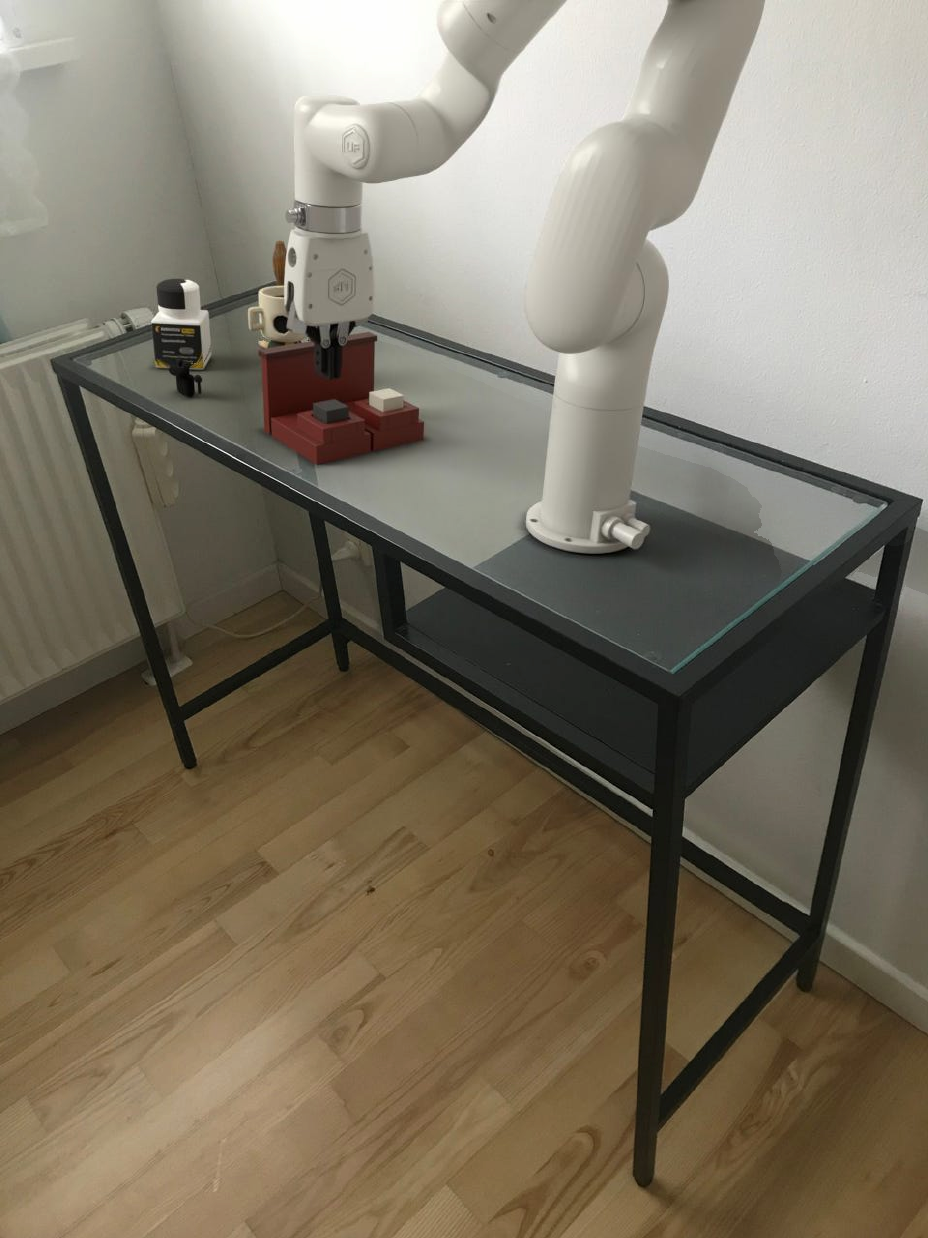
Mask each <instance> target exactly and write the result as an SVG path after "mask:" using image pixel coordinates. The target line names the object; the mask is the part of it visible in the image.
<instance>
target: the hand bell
mask: <svg viewBox="0 0 928 1238" xmlns="http://www.w3.org/2000/svg"><path fill="white" fill-rule="evenodd" d="M286 255H287V247H286V244H285V241H283V240H277V241H275V245H274V250H273V253H272V270H273V275H274V277H275V281H276V286H284V279H285V264H286ZM268 343H269V342H266V341H264V340H263V341H259V340H258V345H259V347H261V348H262V349H266V348H267V346H268Z"/></svg>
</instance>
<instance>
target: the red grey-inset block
mask: <svg viewBox="0 0 928 1238" xmlns="http://www.w3.org/2000/svg"><path fill="white" fill-rule="evenodd" d="M271 429H272V434H271V437H272V438H274V439H276V440H277V441H279V442H281V443H282V444H284V445H285V446H287V447H288V448H289V449H291V450H293V451H294V452H296V453H298V454H299V455H301V456H302V457H304V458H305V459H307V460H309V461H311V462H312V463H313V464H315V465H317V466H318V465H322V464H327V463H331V462H335V461H339V460H342V459H346V458H348V459H349V458H351V457H356V456H361V455H364V454H368V453H372V452H371V451H372V450H371V434H370V433H369V432H367V431H365V420H364V419H362V418H360V417H359V416H357V415H355V414H353V413H351V412H350V411H349V420H344V421H340V422H335V423H330V424H327V425H326V424H325V423H323V422H321V421H320V420H318V419H316V418H314V417H313V410H308V411H303V412H298V413H293V414H288V415H283V416H278V417H273V418H271Z"/></svg>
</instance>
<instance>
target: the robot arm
mask: <svg viewBox="0 0 928 1238" xmlns="http://www.w3.org/2000/svg"><path fill="white" fill-rule="evenodd" d="M567 2H568V0H440V3H439V4H438V6H437V9H436V12H435V23H436V27H437V30H438V34H439V36H440V38H441V40H442V42H443V44H444V45H445V47H446V53H445V55H444V57H443V59H442V61H441V62H440V64H439V66H438V67H437V69H436V70H435V71H434V73H433V74H432V75H431V77H430V78H429V79H428V80H427V81H426V83H425V84H423V86H422V87H421V88H420V90H419V91H418V92H417V93H416V94H415V95H414V96H413V97H412V98H411V99H410V100H409V99H408V100H397V101H396V100H395V101H387V102H378V103H377V102H376V103H364V104H360V103H359V101H358V100H355V99H353V98H352V97H347V96H342V95H335V94H307V95H303V96H300V98H298V99H297V100H296V102H295V104H294V107H293V163H294V164H293V173H294V178H293V179H294V201H293V208H292V209H287V210H286V211H285V220H286V222H287V223H288V224H292V223H293V225H294V229H291V230H290V233H289V237H288V242H287V247H286V250H287V255H286V264H285V279H284V303H285V311H286V313H287V315H289V316H288V321H287V330H289V331H291V332H293V333H295V334H303V335H307V338H308V339H309V341H312V342H314V366H315V369H316V373H317V374H318V375H320V376H322V377H324V378H326V379H327V380H332V379H333V378H335V379H338V378H341V368H342V345H345V344H346V342H347V337H348V335H351V333H352V331H354V329H355V328H358V327H359V326H362V325H364V324H366V323H368V322H369V317H371V316H372V315H373V313H374V311H375V302H376V301H375V300H376V296H375V295H376V292H375V291H376V290H375V288H376V287H375V269H374V259H373V252H372V251H373V250H372V246H371V245H372V244H371V240H370V239H371V238H370V235H369V231H368V230H367V229H364V228H363V183H365V184H381V183H389V182H393V181H397V180H402V179H408V178H413V177H419V176H424V175H428V174H430V173H432V172H434V171H436V170H437V169H439V168H441V167H442V166H444V164H446V162H447V161H449V160H450V159H451V158H452V157H453V156H454V155H455V154H456V153H457V152H458V151H459V149H460V148H461V147H463V145H464V144H465V143H466V142H467V140H468V139H470V137H472V135H473V134H474V133H475V132H476V131H477V129H478V128H480V126H481V125H482V123H483V122H484V121H485V119H486V117H487V116H488V114H489V112H490V110H491V109H492V106H493V103H494V101H495V99H496V96H497V94H498V91H499V89H500V85H501V82H502V78H503V75H504V74H505V72H506V71H507V70H508V69H509V67H510V66H512V64H513V63H514V62H515V61H516V60H517V58H518V57H519V56H520V55H521V54H522V53H523V51H524V50H525V49H526V47H528V45H529V44H530V43H531V42H532V41H533V40H534V38H535V37H537V35H538V34H539V33H540V32H541V30H543V28H544V27H545V26H546V25H547V24H548V22H549V21H550V20H551V19H552V18H553V17H554V16H555V15H556V14H557V13H558V12H559V11H560V9H562V7H563V6H564V5H565V4H566V3H567ZM765 4H766V0H667V6H666V11H665V14H664V16H663V18H662V21H661V23H660V24H659V27H658V28H657V30H656V32H655V33H654V36H653V37H652V38H651V41H650V43H649V44H648V47H647V48H646V51H645V54H644V57H643V59H642V61H641V64H640V66H639V67H640V68H639V71H638V74H637V79H636V81H635V82H636V83H635V85H634V87H633V89H632V93H631V95H630V98H629V101H628V104H627V106H626V108H625V111H624V113H623V115H622V117H621V119H620V120H619V121H613V122H609V123H606V124H605V123H604V124H602V125H600V126H598V127H596V128H593V129H592V130H591V131H589V132H588V133H586V134H585V135H583V137H582V138H580V140H578V142H577V143H576V144H575V145H574V146H573V148H572V149H571V151H570V152H569V153H568V155H567V157H566V158H565V160H564V162H563V164H562V166H561V168H560V170H559V173H558V174H557V178H556V181H555V183H554V187H553V189H552V193H551V196H550V200H549V202H548V205H547V209H546V212H545V215H544V218H543V219H544V220H543V222H542V226H541V229H540V231H539V235H538V238H537V242H536V244H535V245H536V246H535V248H534V252H533V255H532V258H531V262H530V264H529V265H530V266H529V268H528V272H527V276H526V280H525V286H524V293H523V303H524V306H523V307H524V313H525V318H526V320H527V323H528V326H529V328H530V330H531V332H532V333H533V335H534V336H535V338H536V339H537V340H538V341H539V342H540V343H541V344H542V345H543V346H545V347H546V348H548V349H549V350H552V351H554V352H556V353H558V357H557V358H558V359H557V364H556V369H555V376H554V383H553V394H552V401H551V402H552V403H551V412H550V423H549V432H548V442H547V451H546V462H545V468H544V469H545V470H544V479H543V489H542V498H541V500H540V501H538V502H536V503H534V504H533V505H531V506H530V507H529V508H528V510H527V512H526V516H525V527H526V529H527V531H528V532H529V533H530V534H531V535H532V537H534V538H535V539H537V540H538V541H540V542H541V543H542V544H544V545H547V546H549V547H553V548H555V549H558V550H562V551H565V552H571V553H575V554H576V553H577V554H589V555H593V554H594V555H597V554H600V555H601V554H610V553H615V552H619V551H621V550H624V549H626V548H628V547H629V548H631V549H633V550H638V549H640V547H642V545H643V544H644V540H645V537H647V536H648V535H649V534H650V531H651V526H650V525H649V524H647V523H646V522H643V521H641V520H638V519H637V518H636V516H635V515H636V510H637V509H636V508H637V502H636V501H635V500H633V499H630V497H631V491H632V485H633V478H634V473H635V467H636V466H635V464H636V460H637V452H638V446H639V439H640V433H641V427H642V419H643V413H644V407H645V401H646V397H647V396H646V395H647V389H648V385H649V384H648V383H649V378H650V371H651V367H652V366H651V365H652V360H653V356H654V351H655V347H656V344H657V341H658V337H659V333H660V330H661V327H662V323H663V319H664V316H665V312H666V308H667V304H668V299H669V292H670V291H669V287H670V280H669V278H670V277H669V271H668V268H667V264H666V261H665V259H664V257H663V254H662V253H661V252H660V250H659V249H658V247H657V246H656V245H655V244H654V243H652V242H651V240H649V239H648V238H647V237H648V235H649V233H650V232H651V231H654V230H656V229H660V228H662V227H664V226H668V225H669V224H671V223H674V222H675V221H676V220H678V219H679V218H680V217H682V216H683V215H684V214H685V213H686V212H687V211H688V209H689V208H690V206H692V204H693V202H694V200H695V198H696V196H697V194H698V191H699V189H700V185H701V182H702V180H703V177H704V174H705V171H706V168H707V166H708V163H709V161H710V158H711V156H712V153H713V150H714V147H715V145H716V143H717V140H718V137H719V134H720V132H721V129H722V127H723V124H724V121H725V119H726V116H727V113H728V111H729V109H730V104H731V103H732V99H733V96H734V93H735V91H736V88H737V85H738V83H739V81H740V77H741V75H742V72H743V70H744V67H745V65H746V62H747V60H748V57H749V54H750V52H751V50H752V47H753V44H754V41H755V39H756V36H757V33H758V30H759V27H760V23H761V20H762V16H763V14H764V9H765Z"/></svg>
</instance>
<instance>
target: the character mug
mask: <svg viewBox="0 0 928 1238" xmlns="http://www.w3.org/2000/svg"><path fill="white" fill-rule="evenodd" d="M256 314H257V315H258V316H259V322H258V323H256ZM288 316H289V315H287V313H286V311H285V303H284V286H277V285H271V286H266V287H263V288H260V290H259V291H258V306H251V307H249V308H248V310H247V322H248V323H247V324H248V329H249V331H252V332H254V331H255V332H256V331H260V333H261V335H262V336H263V337H265V338H267V339H269V340H270V341H269V343H268V346H267V348H272V347H278V346H284V345H290V344H297V343H302V342H301V340H303V339H305V338H308V336H307V335H303V334H295V333H293V332H291V331H289V330H287V321H288Z"/></svg>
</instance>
